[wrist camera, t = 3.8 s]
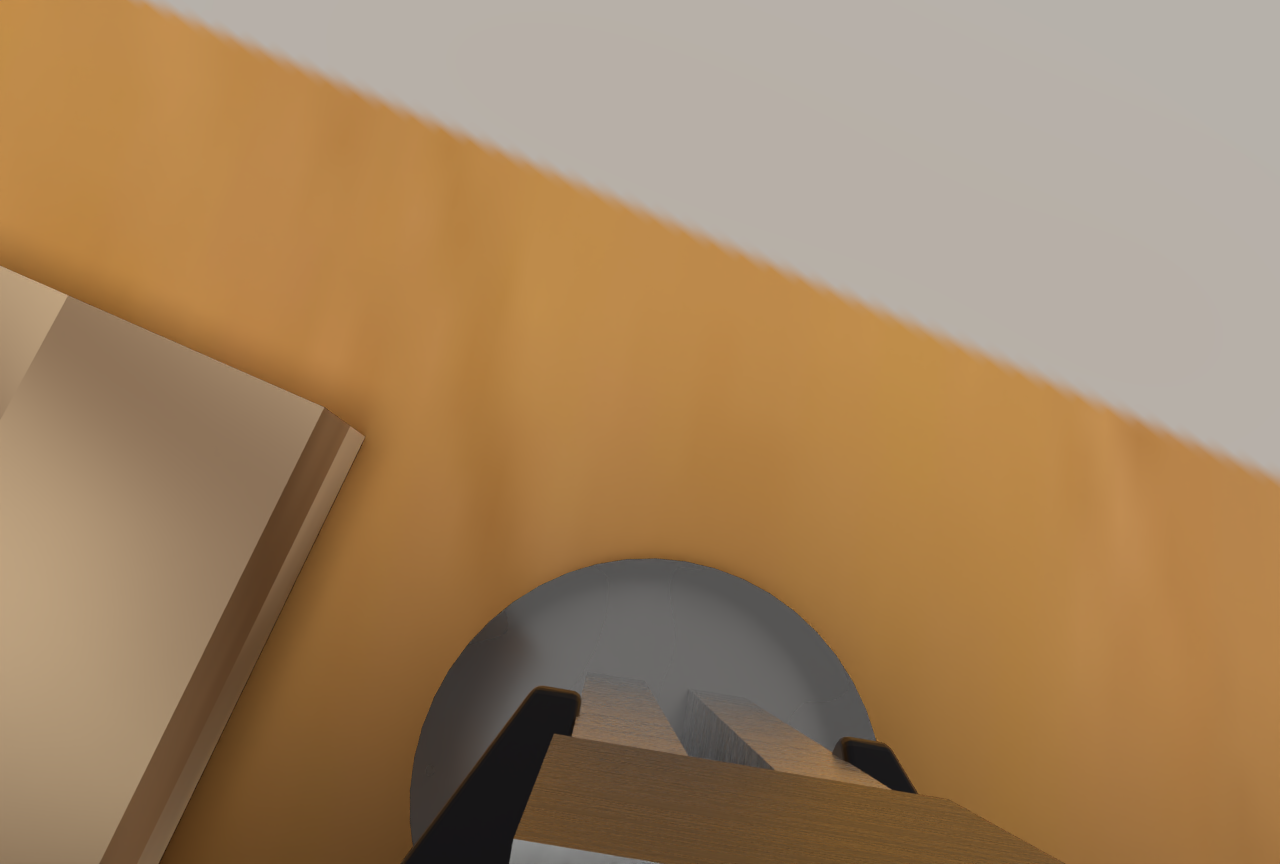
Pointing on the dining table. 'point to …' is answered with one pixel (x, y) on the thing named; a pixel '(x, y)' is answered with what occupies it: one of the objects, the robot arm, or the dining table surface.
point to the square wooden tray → (135, 566)
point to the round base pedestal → (684, 732)
